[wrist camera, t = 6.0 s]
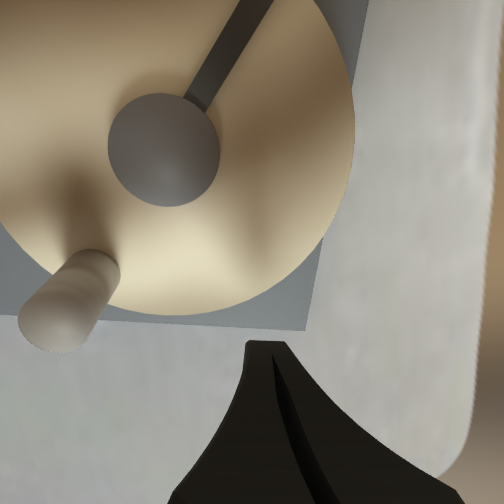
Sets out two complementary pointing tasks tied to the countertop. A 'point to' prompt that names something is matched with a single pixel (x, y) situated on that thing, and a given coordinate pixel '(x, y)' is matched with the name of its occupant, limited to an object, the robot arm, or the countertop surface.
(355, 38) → the dial board
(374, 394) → the countertop surface
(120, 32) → the cam dial
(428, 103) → the countertop surface
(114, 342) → the countertop surface
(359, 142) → the countertop surface
